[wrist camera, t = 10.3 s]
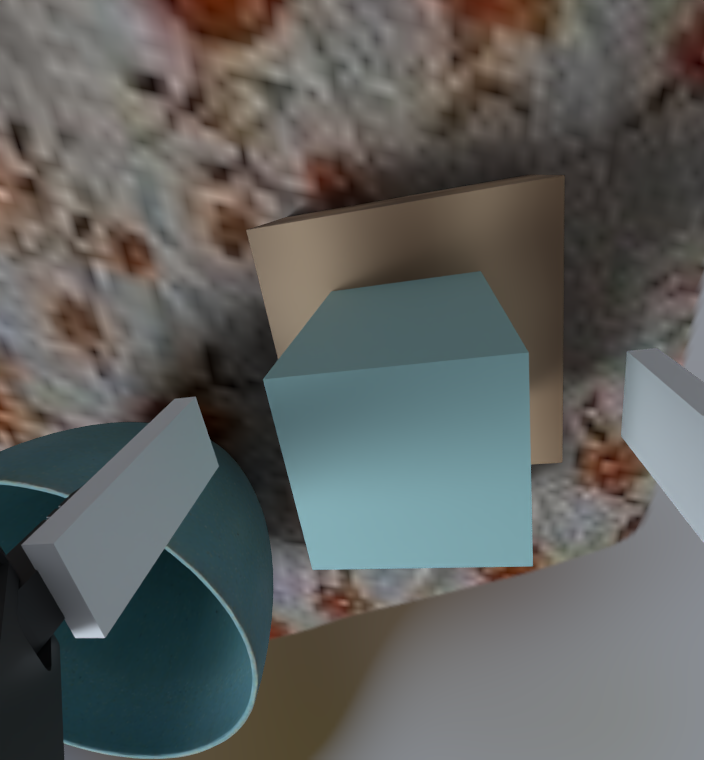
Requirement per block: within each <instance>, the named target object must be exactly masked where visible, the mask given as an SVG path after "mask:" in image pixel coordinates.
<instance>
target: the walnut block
mask: <svg viewBox="0 0 704 760" xmlns="http://www.w3.org/2000/svg"><path fill="white" fill-rule="evenodd" d="M564 199H565V175H525V176H519V177H513V178H508V179H502V180H496V181H490V182H485V183H479V184H473V185H468V186H462V187H456V188H450V189H445V190H439V191H433V192H428V193H422V194H416V195H410V196H405V197H399V198H393V199H388V200H382V201H376V202H370V203H365V204H359V205H353V206H348V207H342V208H336V209H330V210H325V211H319V212H313V213H308V214H302V215H296V216H291V217H285V218H282V219H279V220H276V221H273V222H270V223H267V224H264V225H261V226H258V227H254V228H251V229H248V230H246V231H247V235H248V239H249V243H250V247H251V251H252V255H253V259H254V263H255V267H256V271H257V276H258V280H259V284H260V288H261V292H262V296H263V300H264V304H265V308H266V312H267V316H268V320H269V324H270V328H271V332H272V336H273V341H274V345H275V349H276V353H277V357H278V359H279V358H280V357H281V355H282V354H283V353H284V352H285V350H286V349H287V348H288V346H289V345H290V344H291V343H292V341H293V340H294V339H295V337H296V336H297V335H298V334H299V332H300V331H301V330H302V328H303V327H304V326H305V325H306V323H307V322H308V321H309V319H310V318H311V317H312V316H313V314H314V313H315V312H316V310H317V309H318V308H319V307H320V305H321V304H322V303H323V301H324V300H325V299H326V298H327V296H328V295H329V294H330V292H331V291H338V290H346V289H353V288H360V287H368V286H375V285H382V284H390V283H397V282H404V281H412V280H419V279H426V278H434V277H441V276H448V275H456V274H463V273H470V272H478V271H481V272H482V274H483V276H484V277H485V279H486V281H487V282H488V284H489V286H490V288H491V289H492V291H493V293H494V294H495V296H496V298H497V299H498V301H499V303H500V305H501V306H502V308H503V310H504V311H505V313H506V315H507V316H508V318H509V320H510V322H511V323H512V325H513V327H514V328H515V330H516V332H517V333H518V335H519V337H520V339H521V340H522V342H523V344H524V345H525V347H526V349H527V350H528V352H529V394H530V447H531V464H547V463H562V439H563V319H564Z"/></svg>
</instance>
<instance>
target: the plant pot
mask: <svg viewBox="0 0 704 760" xmlns="http://www.w3.org/2000/svg"><path fill="white" fill-rule="evenodd" d="M148 424H149V423H142V422H118V423H106V424H98V425H90V426H85V427H79V428H74V429H70V430H66V431H61V432H57V433H53V434H50V435H46V436H43V437H39V438H36V439H33V440H30V441H27V442H24V443H21V444H18V445H16V446H13V447H10V448H8V449H5V450H3V451H0V546H1V548H2V549H3V551H4V553H5V554H6V555H7V554H8V553H9V552H10V551H11V550H12V549H13V548H14V547H15V546H16V545H17V544H18V543H19V542H20V541H22V540H23V539H24V538H25V537H26V536H27V535H28V534H29V533H30V532H31V531H32V530H33V529H34V528H35V527H36V526H37V525H39V524H40V523H41V522H42V521H43V520H46V519H47V516H48V515H49V514H50V513H51V512H52V511H53V510H54V509H57V508H58V506H59V505H60V504H61V503H62V502H63V501H64V500H65V499H66V498H67V497H68V496H69V495H70V494H71V493H73V492H74V491H76V490H77V489H79V488H80V487H82V486H83V485H85V484H86V483H87V482H88V481H89V480H90V479H91V478H92V477H93V476H94V475H95V474H96V473H97V472H98V471H99V470H100V469H101V468H102V467H103V466H105V465H106V464H107V463H108V462H109V461H110V460H111V459H112V458H113V457H114V456H115V455H116V454H117V453H118V452H119V451H120V450H121V449H122V448H123V447H124V446H126V445H127V444H128V443H129V442H130V441H131V440H132V439H133V438H134V437H135V436H136V435H137V434H138V433H139V432H140V431H141V430H142V429H143V428H144V427H145V426H147V425H148ZM210 441H211V440H210ZM211 444H212V447H213V450H214V453H215V456H216V459H217V462H218V465H219V467H218V468H217V470H216V471H215V473H214V474H213V476H212V477H211V479H210V480H209V482H208V483H207V485H206V486H205V488H204V489H203V491H202V492H201V494H200V495H199V497H198V499H197V500H196V502H195V503H194V505H193V506H192V508H191V509H190V511H189V512H188V514H187V515H186V517H185V518H184V520H183V521H182V523H181V524H180V526H179V527H178V529H177V530H176V532H175V533H174V535H173V536H172V538H171V539H170V541H169V542H168V544H167V545H166V547H165V548H164V550H163V551H162V553H161V554H160V556H159V557H158V559H157V560H156V562H155V563H154V565H153V566H152V568H151V569H150V571H149V573H148V574H147V576H146V577H145V579H144V580H143V582H142V583H141V585H140V586H139V588H138V589H137V591H136V592H135V594H134V595H133V597H132V598H131V600H130V601H129V603H128V604H127V606H126V607H125V609H124V610H123V612H122V613H121V615H120V616H119V618H118V619H117V621H116V622H115V624H114V625H113V627H112V628H111V630H110V631H109V633H108V634H107V636H106V637H105V638H75V637H74V635H73V633H72V632H71V630H70V628H69V626H68V625H67V623H66V621H65V620H64V621H63V622H62V623H61V624H60V626H59V627H58V628H57V630H56V631H55V632H54V635H55V637H56V638H57V640H58V642H59V645H60V663H61V689H62V715H63V742H64V743H65V744H68V745H71V746H74V747H78V748H81V749H85V750H89V751H93V752H98V753H102V754H107V755H113V756H121V757H129V758H141V759H164V758H177V757H183V756H188V755H192V754H196V753H199V752H202V751H205V750H207V749H210V748H212V747H214V746H216V745H218V744H220V743H222V742H224V741H225V740H227V739H228V738H230V737H231V736H232V735H233V734H235V733H236V732H237V731H238V730H239V729H240V728H241V726H242V725H243V724H244V723H245V721H246V720H247V718H248V716H249V714H250V713H251V710H252V708H253V705H254V702H255V699H256V696H257V692H258V689H259V686H260V682H261V678H262V673H263V668H264V664H265V660H266V654H267V648H268V643H269V635H270V627H271V619H272V606H273V565H272V554H271V546H270V540H269V535H268V529H267V525H266V521H265V518H264V514H263V511H262V509H261V506H260V503H259V501H258V499H257V496H256V494H255V492H254V490H253V488H252V486H251V484H250V482H249V480H248V478H247V477H246V475H245V474H244V472H243V471H242V469H241V468H240V467H239V465H238V464H237V463H236V461H235V460H234V459H233V458H232V457H231V456H230V455H229V454H228V453H227V452H226V451H225V450H224V449H223V448H221V447H220V446H219V445H217V444H216V443H214V442H213V441H211Z"/></svg>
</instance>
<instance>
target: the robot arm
mask: <svg viewBox="0 0 704 760" xmlns="http://www.w3.org/2000/svg"><path fill="white" fill-rule="evenodd" d="M621 436H622V438H623V439H624V440H625V442H626V443H627V444H628V446H629V447H630V448H631V449H632V451H633V452H634V453H635V455H636V456H637V457H638V458H639V460H640V461H641V462H642V464H643V465H644V466H645V468H646V469H647V470H648V471H649V473H650V474H651V475H652V477H653V478H654V479H655V481H656V482H657V483H658V484H659V486H660V487H661V488H662V490H663V491H664V492H665V493H666V495H667V496H668V497H669V499H670V500H671V501H672V503H673V504H674V505H675V506H676V508H677V509H678V510H679V512H680V513H681V514H682V515H683V517H684V518H685V519H686V521H687V522H688V523H689V525H690V526H691V527H692V528H693V530H694V531H695V532H696V534H697V535H698V536H699V537H700V539H701V540H702V541H703V543H704V382H703V381H701V380H700V379H699V378H697V377H696V376H694V375H693V374H692V373H690V372H689V371H688V370H686V369H685V368H684V367H682V366H681V365H680V364H678V363H677V362H676V361H674V360H673V359H671V358H670V357H669V356H667V355H666V354H665V353H663V352H662V351H661V350H659V349H658V348H651V349H642V350H632V351H627V357H626V372H625V386H624V401H623V415H622V430H621ZM218 467H219V465H218V462H217V459H216V456H215V453H214V450H213V447H212V444H211V441H210V438H209V435H208V432H207V429H206V426H205V423H204V420H203V417H202V414H201V411H200V408H199V405H198V402H197V399H196V397H187V398H178V399H174V400H173V401H172V402H171V403H170V404H169V405H168V406H166V407H165V408H164V409H163V410H162V411H161V412H160V413H159V414H158V415H157V416H156V417H155V418H154V419H153V420H152V421H151V422H150V423H149V424H148V425H147V426H145V427H144V428H143V429H142V430H141V431H140V432H139V433H138V434H137V435H136V436H135V437H134V438H133V439H132V440H131V441H130V442H129V443H128V444H127V445H126V446H124V447H123V448H122V449H121V450H120V451H119V452H118V453H117V454H116V455H115V456H114V457H113V458H112V459H111V460H110V461H109V462H108V463H107V464H106V465H105V466H103V467H102V468H101V469H100V470H99V471H98V472H97V473H96V474H95V475H94V476H93V477H92V478H91V479H90V480H89V481H88V482H87V483H86V484H85V485H83V486H82V487H80V488H79V489H77V490H76V491H74V492H73V493H71V494H70V495H69V496H68V497H67V498H66V499H65V500H64V501H63V502H62V503H61V504H60V505H59V506H58V508H57V509H54V510H53V511H52V512H51V513H50V514H49V515H48V516H47V519H46V520H43V521H42V522H41V523H40V524H39V525H37V526H36V527H35V528H34V529H33V530H32V531H31V532H30V533H29V534H28V535H27V536H26V537H25V538H24V539H23V540H22V541H20V542H19V543H18V544H17V545H16V546H15V547H14V548H13V549H12V550H11V551H10V552H9V553H8V554H7V555H6V554H5V553H4V551H3V549H2V548H1V546H0V760H64V742H63V715H62V689H61V663H60V645H59V642H58V640H57V638H56V637H55V635H54V632H55V631H56V630H57V628H58V627H59V626H60V624H61V623H62V622H63V621H64V620H65V621H66V623H67V625H68V626H69V628H70V630H71V632H72V633H73V635H74V637H75V638H105V637H106V636H107V634H108V633H109V631H110V630H111V628H112V627H113V625H114V624H115V622H116V621H117V619H118V618H119V616H120V615H121V613H122V612H123V610H124V609H125V607H126V606H127V604H128V603H129V601H130V600H131V598H132V597H133V595H134V594H135V592H136V591H137V589H138V588H139V586H140V585H141V583H142V582H143V580H144V579H145V577H146V576H147V574H148V573H149V571H150V569H151V568H152V566H153V565H154V563H155V562H156V560H157V559H158V557H159V556H160V554H161V553H162V551H163V550H164V548H165V547H166V545H167V544H168V542H169V541H170V539H171V538H172V536H173V535H174V533H175V532H176V530H177V529H178V527H179V526H180V524H181V523H182V521H183V520H184V518H185V517H186V515H187V514H188V512H189V511H190V509H191V508H192V506H193V505H194V503H195V502H196V500H197V499H198V497H199V495H200V494H201V492H202V491H203V489H204V488H205V486H206V485H207V483H208V482H209V480H210V479H211V477H212V476H213V474H214V473H215V471H216V470H217V468H218Z"/></svg>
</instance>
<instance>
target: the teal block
mask: <svg viewBox="0 0 704 760" xmlns="http://www.w3.org/2000/svg"><path fill="white" fill-rule="evenodd" d="M263 382H264V386H265V390H266V393H267V397H268V401H269V405H270V409H271V413H272V416H273V420H274V424H275V428H276V432H277V435H278V439H279V443H280V447H281V451H282V455H283V458H284V462H285V466H286V470H287V474H288V478H289V481H290V485H291V489H292V493H293V497H294V501H295V504H296V508H297V512H298V516H299V520H300V523H301V527H302V531H303V535H304V539H305V543H306V546H307V550H308V554H309V558H310V562H311V566H312V569H313V570H331V569H392V568H454V567H516V566H533V552H532V500H531V447H530V394H529V352H528V350H527V349H526V347H525V345H524V344H523V342H522V340H521V339H520V337H519V335H518V333H517V332H516V330H515V328H514V327H513V325H512V323H511V322H510V320H509V318H508V316H507V315H506V313H505V311H504V310H503V308H502V306H501V305H500V303H499V301H498V299H497V298H496V296H495V294H494V293H493V291H492V289H491V288H490V286H489V284H488V282H487V281H486V279H485V277H484V276H483V274H482V272H481V271H478V272H470V273H463V274H456V275H448V276H441V277H434V278H426V279H419V280H412V281H404V282H397V283H390V284H382V285H375V286H368V287H360V288H353V289H346V290H338V291H331V292H330V294H329V295H328V296H327V298H326V299H325V300H324V301H323V303H322V304H321V305H320V307H319V308H318V309H317V310H316V312H315V313H314V314H313V316H312V317H311V318H310V319H309V321H308V322H307V323H306V325H305V326H304V327H303V328H302V330H301V331H300V332H299V334H298V335H297V336H296V337H295V339H294V340H293V341H292V343H291V344H290V345H289V346H288V348H287V349H286V350H285V352H284V353H283V354H282V355H281V357H280V358H279V359H278V361H277V362H276V363H275V364H274V366H273V367H272V368H271V370H270V371H269V372H268V373H267V375H266V376H265V377H264V379H263Z"/></svg>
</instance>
